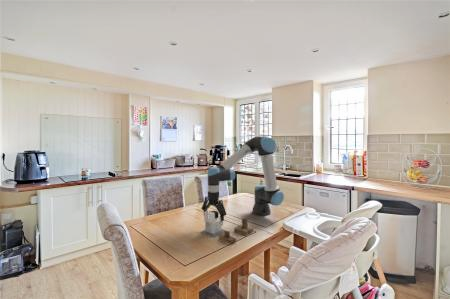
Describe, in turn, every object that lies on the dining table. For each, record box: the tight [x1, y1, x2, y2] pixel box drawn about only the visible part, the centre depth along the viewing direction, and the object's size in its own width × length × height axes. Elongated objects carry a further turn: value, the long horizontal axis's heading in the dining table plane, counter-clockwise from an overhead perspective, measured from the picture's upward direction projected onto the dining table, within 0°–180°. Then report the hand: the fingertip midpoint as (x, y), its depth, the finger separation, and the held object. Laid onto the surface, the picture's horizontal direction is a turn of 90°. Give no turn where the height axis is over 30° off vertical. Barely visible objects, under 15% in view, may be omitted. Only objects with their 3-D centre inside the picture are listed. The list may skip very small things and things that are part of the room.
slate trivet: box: [200, 228, 227, 238], centre depth 140 cm, size 12×12×1 cm
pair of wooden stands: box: [218, 217, 254, 245], centre depth 135 cm, size 23×10×8 cm, turn 140°
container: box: [204, 210, 222, 234], centre depth 140 cm, size 8×8×13 cm
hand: (213, 223), depth 140 cm, fingers open, 13 cm apart
